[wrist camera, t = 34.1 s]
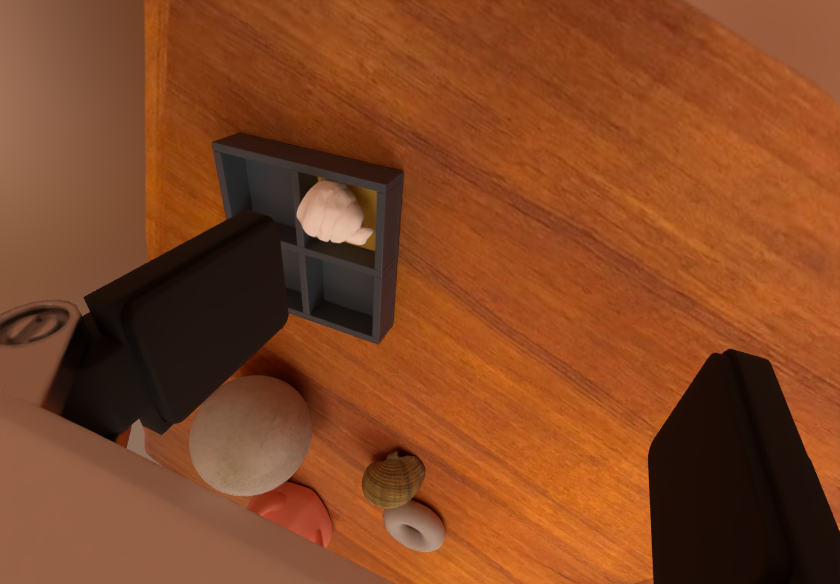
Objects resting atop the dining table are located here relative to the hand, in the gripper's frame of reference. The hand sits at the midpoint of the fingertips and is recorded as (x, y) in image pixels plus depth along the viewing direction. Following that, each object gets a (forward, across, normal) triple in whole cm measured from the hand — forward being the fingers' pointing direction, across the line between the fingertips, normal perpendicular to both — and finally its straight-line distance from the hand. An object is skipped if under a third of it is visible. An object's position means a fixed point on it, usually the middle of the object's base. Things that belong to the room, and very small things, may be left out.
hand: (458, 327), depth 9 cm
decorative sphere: (+26, +28, +44) cm, 58 cm away
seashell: (+26, +10, +50) cm, 57 cm away
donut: (+26, +6, +61) cm, 67 cm away
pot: (+26, +29, +75) cm, 85 cm away
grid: (+26, +21, +16) cm, 37 cm away
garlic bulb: (+26, +16, +12) cm, 33 cm away
